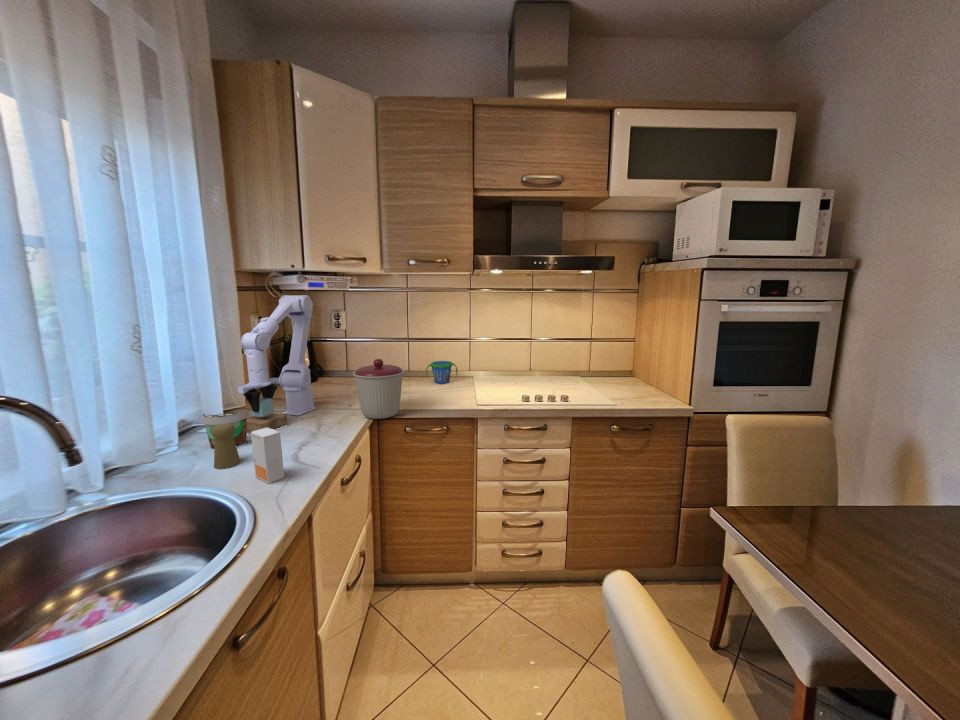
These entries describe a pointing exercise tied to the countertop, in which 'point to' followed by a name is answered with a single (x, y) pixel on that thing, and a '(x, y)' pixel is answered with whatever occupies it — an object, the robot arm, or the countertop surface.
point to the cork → (225, 446)
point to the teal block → (264, 407)
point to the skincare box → (267, 455)
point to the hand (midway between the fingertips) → (261, 409)
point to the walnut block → (266, 422)
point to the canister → (379, 389)
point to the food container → (235, 419)
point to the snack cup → (441, 371)
